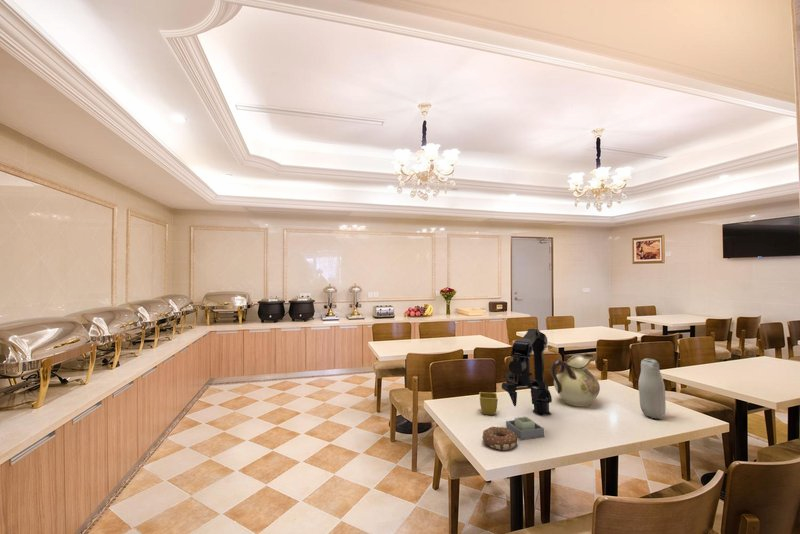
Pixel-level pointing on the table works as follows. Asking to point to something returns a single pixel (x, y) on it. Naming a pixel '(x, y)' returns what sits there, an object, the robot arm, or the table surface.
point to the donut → (500, 438)
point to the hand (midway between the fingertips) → (524, 405)
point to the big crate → (525, 431)
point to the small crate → (524, 423)
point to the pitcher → (575, 381)
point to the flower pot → (488, 402)
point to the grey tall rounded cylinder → (651, 389)
